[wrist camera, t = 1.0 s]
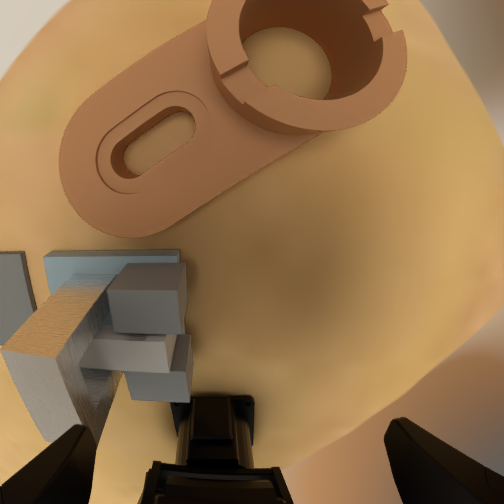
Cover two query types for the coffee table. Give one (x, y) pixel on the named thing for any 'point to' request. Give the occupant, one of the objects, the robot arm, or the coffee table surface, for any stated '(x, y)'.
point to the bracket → (222, 109)
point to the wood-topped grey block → (64, 359)
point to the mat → (14, 294)
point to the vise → (137, 318)
